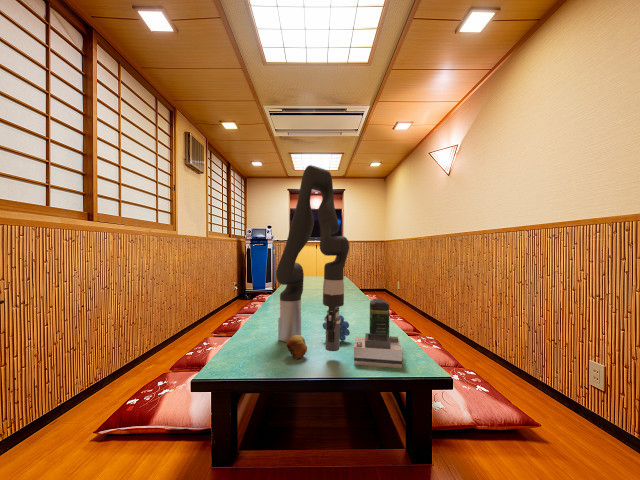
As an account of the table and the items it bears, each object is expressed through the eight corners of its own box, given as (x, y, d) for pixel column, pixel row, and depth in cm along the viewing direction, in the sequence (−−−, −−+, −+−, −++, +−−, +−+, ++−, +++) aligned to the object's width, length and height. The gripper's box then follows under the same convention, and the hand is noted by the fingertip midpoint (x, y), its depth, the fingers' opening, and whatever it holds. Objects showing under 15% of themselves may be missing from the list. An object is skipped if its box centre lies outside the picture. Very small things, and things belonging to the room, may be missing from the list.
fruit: (300, 363, 101) (300, 340, 101) (281, 358, 105) (281, 336, 105) (311, 356, 107) (311, 334, 107) (293, 351, 111) (293, 331, 111)
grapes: (321, 344, 120) (321, 315, 120) (323, 338, 126) (323, 311, 126) (349, 345, 118) (349, 315, 119) (349, 339, 125) (349, 312, 125)
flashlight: (323, 350, 101) (324, 318, 101) (326, 345, 106) (327, 314, 106) (338, 352, 100) (339, 319, 100) (340, 346, 105) (341, 315, 105)
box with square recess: (353, 364, 100) (353, 341, 100) (355, 352, 110) (355, 331, 110) (401, 368, 97) (401, 344, 97) (399, 355, 107) (399, 334, 108)
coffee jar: (391, 349, 114) (390, 302, 114) (370, 348, 115) (370, 301, 115) (387, 341, 124) (387, 297, 124) (368, 340, 124) (368, 297, 124)
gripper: (326, 288, 111) (325, 332, 111) (319, 294, 97) (318, 345, 97) (346, 289, 110) (345, 333, 110) (341, 296, 95) (340, 347, 96)
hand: (332, 339), depth 103 cm, fingers closed on flashlight, 5 cm apart
